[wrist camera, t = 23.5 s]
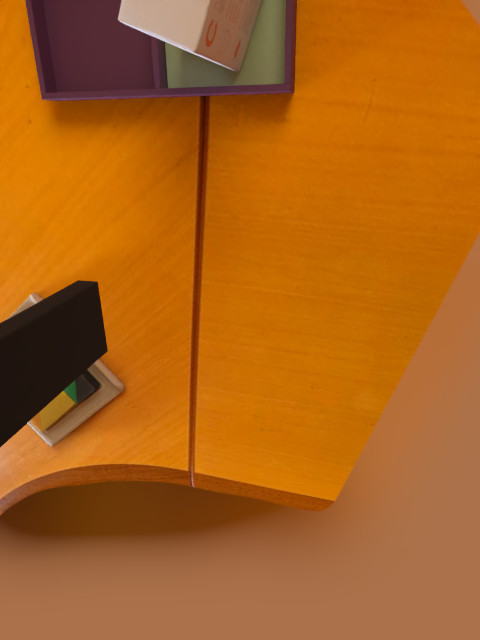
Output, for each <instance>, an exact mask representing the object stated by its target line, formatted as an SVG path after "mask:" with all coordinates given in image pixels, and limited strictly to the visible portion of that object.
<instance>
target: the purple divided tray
mask: <svg viewBox="0 0 480 640" xmlns="http://www.w3.org/2000/svg"><path fill="white" fill-rule="evenodd" d="M25 1H26V7H27V13H28V18H29V24H30V30H31V36H32V42H33V48H34V54H35V60H36V66H37V72H38V78H39V84H40V90H41V95H42V99H43V100H53V101H69V100H98V99H126V98H155V97H184V96H213V95H241V94H270V93H294V80H295V45H296V9H297V0H262V3H261V6H260V9H259V12H258V16H257V19H256V22H255V25H254V28H253V31H252V35H251V38H250V41H249V44H248V47H247V50H246V53H245V56H244V59H243V62H242V66H241V69H240V71H239V72H237V71H233V70H231V69H229V68H226V67H224V66H221V65H219V64H216V63H214V62H212V61H209V60H207V59H204V58H202V57H200V56H197V55H195V54H192V53H190V52H188V51H185V50H183V49H181V48H178V47H176V46H174V45H171V44H169V43H167V42H165V41H162V40H160V39H158V38H155V37H153V36H151V35H148V34H146V33H144V32H141V31H139V30H137V29H135V28H132V27H130V26H128V25H126V24H124V23H122V22H120V21H119V20H118V15H119V10H120V5H121V0H25Z"/></svg>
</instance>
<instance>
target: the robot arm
mask: <svg viewBox="0 0 480 640" xmlns="http://www.w3.org/2000/svg"><path fill="white" fill-rule="evenodd" d="M107 351H108V350H107V343H106V336H105V330H104V323H103V316H102V309H101V302H100V295H99V288H98V282H93V281H77V282H75V283H73V284H71V285H69V286H67V287H66V288H64V289H62V290H60V291H58V292H56V293H55V294H53V295H51V296H49V297H47V298H45V299H44V300H42V301H40V302H38V303H36V304H35V305H33V306H31V307H29V308H27V309H25V310H24V311H22V312H20V313H18V314H16V315H14V316H13V317H11V318H9V319H7V320H5V321H3V322H2V323H0V447H1V446H2V445H3V444H4V443H6V442H7V441H8V440H9V439H10V438H11V437H12V436H13V435H14V434H16V433H17V432H18V431H19V430H20V429H21V428H22V427H23V426H24V425H26V424H27V423H28V422H29V421H30V420H31V419H32V418H33V417H35V416H36V415H37V414H38V413H39V412H40V411H41V410H42V409H43V408H45V407H46V406H47V405H48V404H49V403H50V402H51V401H52V400H54V399H55V398H56V397H57V396H58V395H59V394H60V393H61V392H62V391H64V390H65V389H66V388H67V387H68V386H69V385H70V384H71V383H72V382H74V381H75V380H76V379H77V378H78V377H79V376H80V375H81V374H83V373H84V372H85V371H86V370H87V369H88V368H89V367H90V366H91V365H93V364H94V363H95V362H96V361H97V360H98V359H99V358H100V357H102V356H103V355H104V354H105V353H106V352H107Z"/></svg>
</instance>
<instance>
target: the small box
mask: <svg viewBox="0 0 480 640" xmlns="http://www.w3.org/2000/svg"><path fill="white" fill-rule="evenodd" d="M261 3H262V0H121V5H120V10H119V15H118V20H119V21H120V22H122V23H124V24H126V25H128V26H130V27H132V28H135V29H137V30H139V31H141V32H144V33H146V34H148V35H151V36H153V37H155V38H158V39H160V40H162V41H165V42H167V43H169V44H171V45H174V46H176V47H178V48H181V49H183V50H185V51H188V52H190V53H192V54H195V55H197V56H200V57H202V58H204V59H207V60H209V61H212V62H214V63H216V64H219V65H221V66H224V67H226V68H229V69H231V70H233V71H237V72H239V71H240V69H241V66H242V62H243V59H244V56H245V53H246V50H247V47H248V44H249V41H250V38H251V35H252V31H253V28H254V25H255V22H256V19H257V16H258V12H259V9H260V6H261Z"/></svg>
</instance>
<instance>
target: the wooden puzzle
mask: <svg viewBox="0 0 480 640" xmlns="http://www.w3.org/2000/svg"><path fill="white" fill-rule="evenodd" d="M42 300H43V299H42V298H41V297H40V296H39V295H38V294H37V293H33V294H31V295H30V296H29V297H28V298H27V300H26V301H25V302H24V303H23V304H22V305H21V306H20V307H19V308H18V309H17V310H16V311H15V312H14V313H13V314H12V315H11V316H10V317H9V318H11V317H13V316H14V315H16V314H18V313H20V312H22V311H24V310H25V309H27V308H29V307H31V306H33V305H35V304H36V303H38V302H40V301H42ZM9 318H8V319H9ZM124 389H125V386H124V384H123V383H122V382H121V381H120V380H119V379H118V378H117V377H116V376H115V375H114V374H113V373H112V372H111V371H110V370H109V369H108V368H107V367H106V366H105V365H104V363H103V362H102V361H101V360H100V359H98V360H97V361H96V362H95V363H94V364H93V365H91V366H90V367H89V368H88V369H87V370H86V371H85V372H84V373H83V374H81V375H80V376H79V377H78V378H77V379H76V380H75V381H74V382H72V383H71V384H70V385H69V386H68V387H67V388H66V389H65V390H64V391H62V392H61V393H60V394H59V395H58V396H57V397H56V398H55V399H54V400H52V401H51V402H50V403H49V404H48V405H47V406H46V407H45V408H43V409H42V410H41V411H40V412H39V413H38V414H37V415H36V416H35V417H33V418H32V419H31V420H30V421H29V422H28V423H27V424H28V425H29V426H30V427H31V428H32V429H33V430H34V431H35V432H36V433H37V434H38V435H39V436H40V437H41V438H42V439H43V440H44V441H45V442H46V443H47V444H48V445H49V446H55V445H56V444H57V443H58V442H60V441H61V440H62V439H63V438H65V437H66V436H67V435H68V434H70V433H71V432H72V431H73V430H75V429H76V428H77V427H78V426H80V425H81V424H82V423H83V422H85V421H86V420H87V419H88V418H90V417H91V416H92V415H93V414H95V413H96V412H97V411H98V410H100V409H101V408H102V407H103V406H105V405H106V404H107V403H109V402H110V401H111V400H112V399H114V398H115V397H116V396H117V395H119V394H120V393H121V392H122V391H123V390H124Z"/></svg>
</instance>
